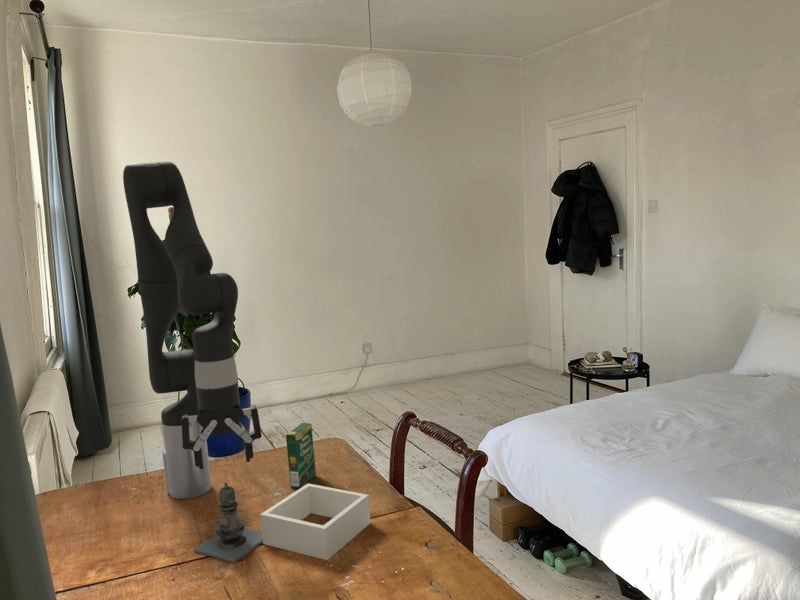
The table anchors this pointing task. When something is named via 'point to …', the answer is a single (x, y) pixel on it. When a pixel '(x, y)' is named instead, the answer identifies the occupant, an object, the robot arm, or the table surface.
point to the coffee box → (300, 455)
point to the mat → (234, 553)
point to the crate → (312, 538)
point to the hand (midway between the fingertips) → (225, 464)
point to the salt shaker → (229, 520)
